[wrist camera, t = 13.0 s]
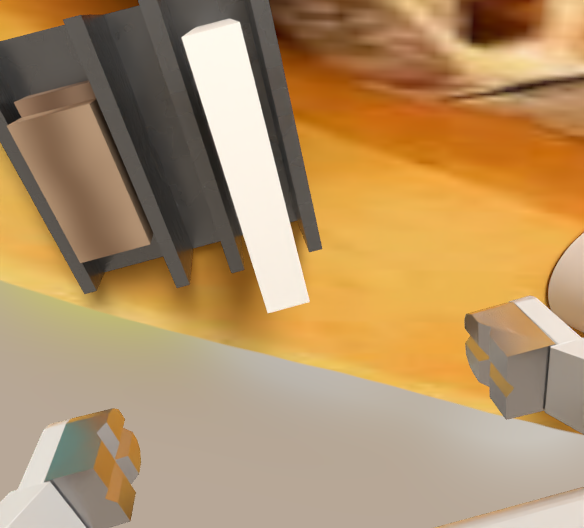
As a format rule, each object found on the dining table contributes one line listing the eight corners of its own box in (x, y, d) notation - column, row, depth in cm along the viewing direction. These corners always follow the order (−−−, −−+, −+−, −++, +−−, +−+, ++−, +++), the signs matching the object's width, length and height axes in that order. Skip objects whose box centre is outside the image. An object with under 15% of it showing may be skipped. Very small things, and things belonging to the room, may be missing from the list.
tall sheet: (229, 18, 31) (239, 22, 18) (277, 203, 38) (309, 301, 25) (195, 27, 31) (181, 37, 18) (249, 210, 38) (267, 313, 25)
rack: (252, -23, 31) (261, -32, 25) (305, 212, 40) (322, 248, 34) (-19, 47, 31) (-78, 55, 25) (96, 268, 40) (74, 315, 34)
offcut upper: (98, 97, 30) (89, 103, 28) (154, 230, 35) (150, 244, 33) (21, 117, 30) (6, 125, 28) (88, 247, 35) (80, 263, 33)
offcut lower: (100, 77, 32) (91, 81, 29) (157, 217, 37) (154, 230, 35) (27, 96, 32) (13, 102, 29) (96, 234, 37) (88, 247, 35)
